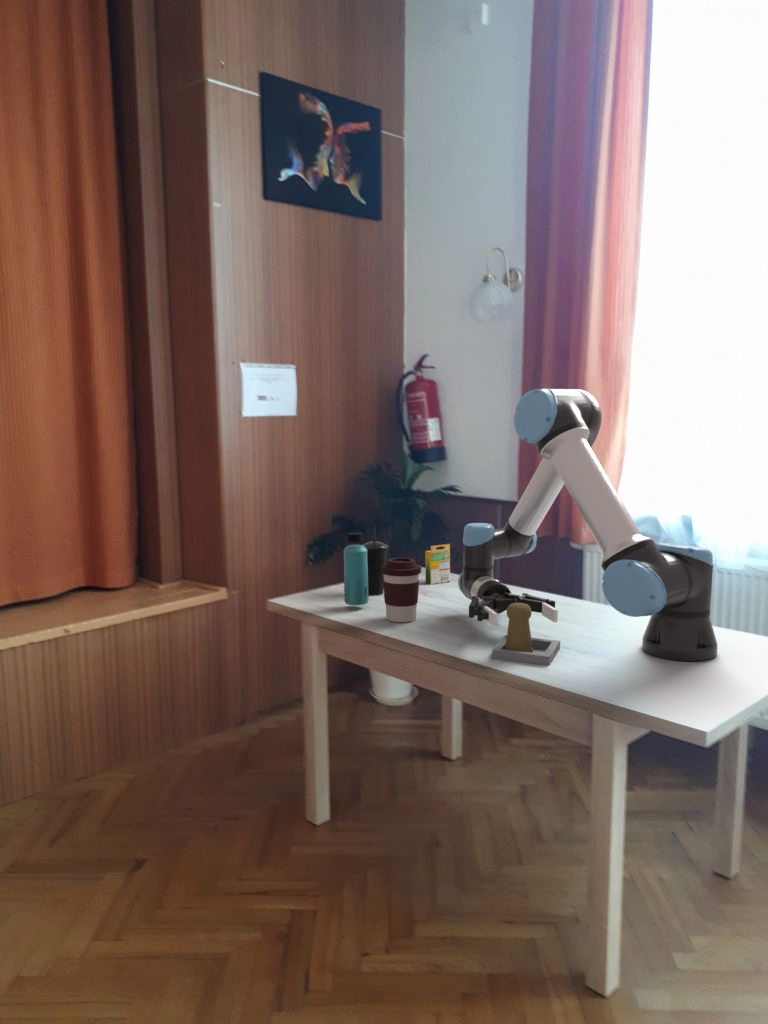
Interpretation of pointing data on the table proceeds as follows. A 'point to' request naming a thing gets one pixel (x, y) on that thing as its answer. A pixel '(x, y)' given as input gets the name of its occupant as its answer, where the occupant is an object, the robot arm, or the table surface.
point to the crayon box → (437, 564)
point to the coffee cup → (401, 588)
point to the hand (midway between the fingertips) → (526, 618)
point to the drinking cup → (375, 564)
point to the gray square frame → (528, 657)
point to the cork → (519, 628)
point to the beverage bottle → (355, 572)
